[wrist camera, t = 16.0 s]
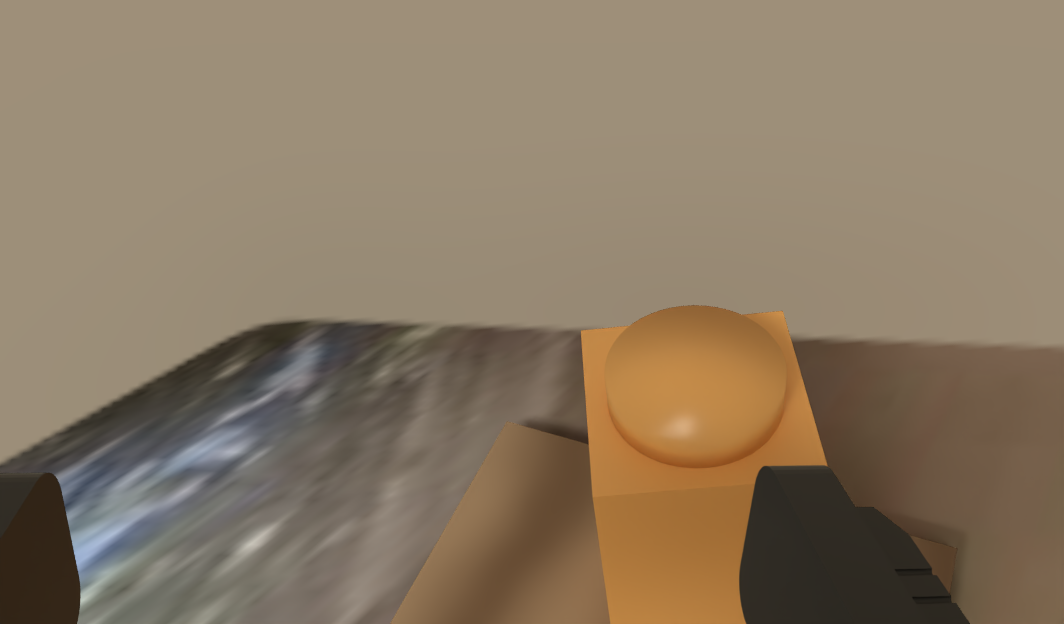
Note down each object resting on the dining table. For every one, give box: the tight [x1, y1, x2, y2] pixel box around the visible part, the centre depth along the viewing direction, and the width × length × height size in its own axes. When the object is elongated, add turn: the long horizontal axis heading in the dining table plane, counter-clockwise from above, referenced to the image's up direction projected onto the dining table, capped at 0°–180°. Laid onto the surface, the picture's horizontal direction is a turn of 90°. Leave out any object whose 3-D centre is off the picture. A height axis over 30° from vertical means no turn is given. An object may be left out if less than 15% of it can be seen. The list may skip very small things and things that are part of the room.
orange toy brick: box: [581, 305, 827, 624], centre depth 30 cm, size 6×6×12 cm
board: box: [390, 421, 957, 624], centre depth 33 cm, size 18×11×6 cm, turn 65°
